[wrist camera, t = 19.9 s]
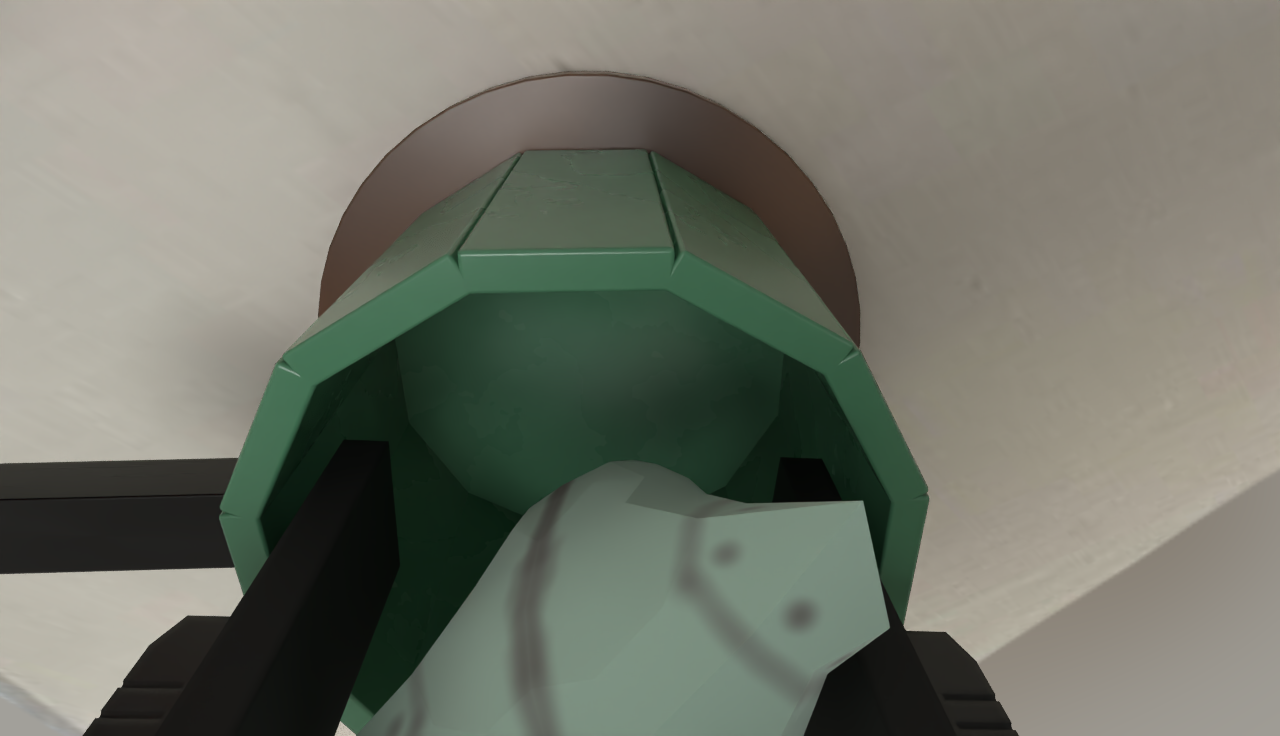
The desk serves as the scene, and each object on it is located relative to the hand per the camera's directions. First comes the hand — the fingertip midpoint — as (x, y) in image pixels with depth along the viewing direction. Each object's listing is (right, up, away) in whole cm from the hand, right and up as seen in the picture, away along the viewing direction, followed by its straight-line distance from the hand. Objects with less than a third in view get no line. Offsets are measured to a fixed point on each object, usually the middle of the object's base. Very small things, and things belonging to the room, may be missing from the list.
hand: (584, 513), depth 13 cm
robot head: (+1, 0, 0) cm, 1 cm away
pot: (-3, +3, +6) cm, 7 cm away
